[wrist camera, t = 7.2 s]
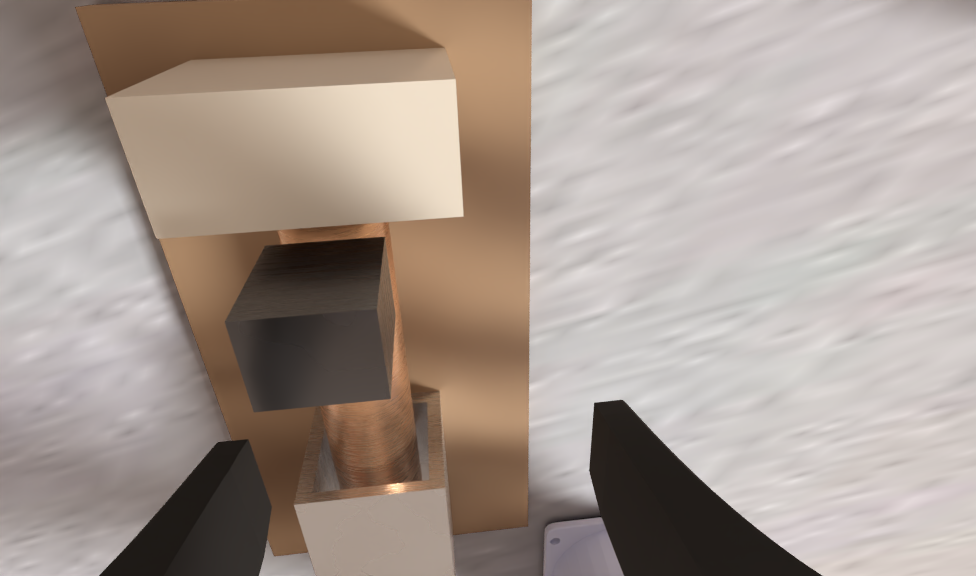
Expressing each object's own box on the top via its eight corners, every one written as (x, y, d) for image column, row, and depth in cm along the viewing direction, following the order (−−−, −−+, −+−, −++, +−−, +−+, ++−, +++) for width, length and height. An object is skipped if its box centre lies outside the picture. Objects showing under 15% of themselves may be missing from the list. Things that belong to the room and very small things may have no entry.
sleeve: (452, 521, 26) (459, 625, 22) (348, 533, 26) (336, 641, 22) (439, 390, 22) (444, 487, 18) (316, 402, 22) (293, 505, 18)
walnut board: (524, 509, 28) (527, 526, 27) (278, 537, 27) (273, 556, 26) (526, -13, 16) (531, -12, 16) (94, 4, 15) (75, 6, 15)
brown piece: (421, 448, 22) (423, 610, 17) (345, 456, 22) (321, 622, 17) (377, 99, 16) (355, 176, 10) (266, 105, 15) (181, 187, 10)
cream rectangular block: (451, 154, 18) (463, 216, 13) (221, 169, 17) (156, 239, 13) (444, 47, 16) (455, 79, 12) (190, 59, 15) (104, 98, 11)
